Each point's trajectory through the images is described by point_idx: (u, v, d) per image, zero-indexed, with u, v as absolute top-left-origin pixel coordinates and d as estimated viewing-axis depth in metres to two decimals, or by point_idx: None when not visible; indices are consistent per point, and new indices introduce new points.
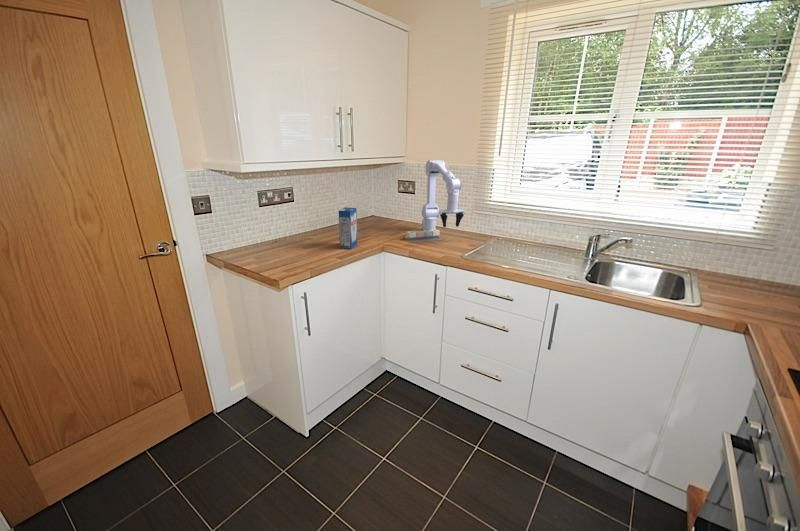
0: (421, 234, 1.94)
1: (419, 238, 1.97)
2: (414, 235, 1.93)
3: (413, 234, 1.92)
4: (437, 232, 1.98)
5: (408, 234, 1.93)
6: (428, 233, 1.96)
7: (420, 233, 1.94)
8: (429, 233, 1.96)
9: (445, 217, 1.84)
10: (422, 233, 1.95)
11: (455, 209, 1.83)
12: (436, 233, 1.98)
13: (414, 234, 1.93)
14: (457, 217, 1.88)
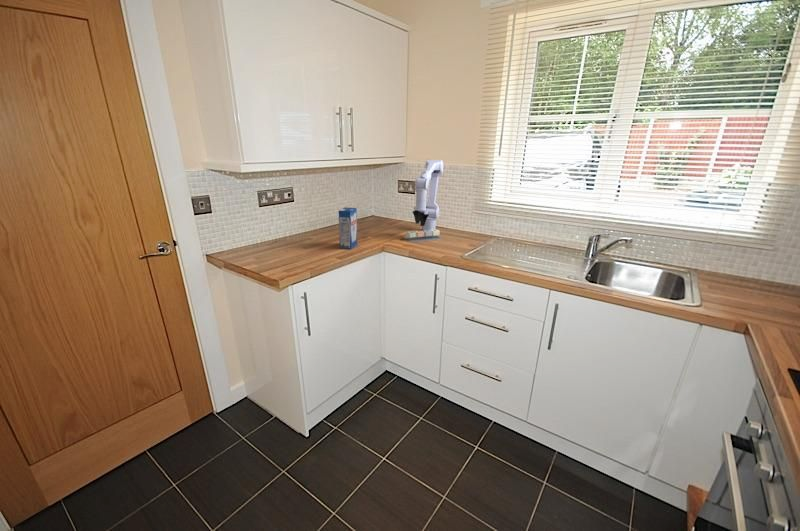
0: (421, 234, 1.94)
1: (419, 238, 1.97)
2: (414, 235, 1.93)
3: (413, 234, 1.92)
4: (437, 232, 1.98)
5: (408, 234, 1.93)
6: (428, 233, 1.96)
7: (420, 233, 1.94)
8: (429, 233, 1.96)
9: (413, 213, 1.95)
10: (422, 233, 1.95)
11: (416, 207, 1.89)
12: (436, 233, 1.98)
13: (414, 234, 1.93)
14: None
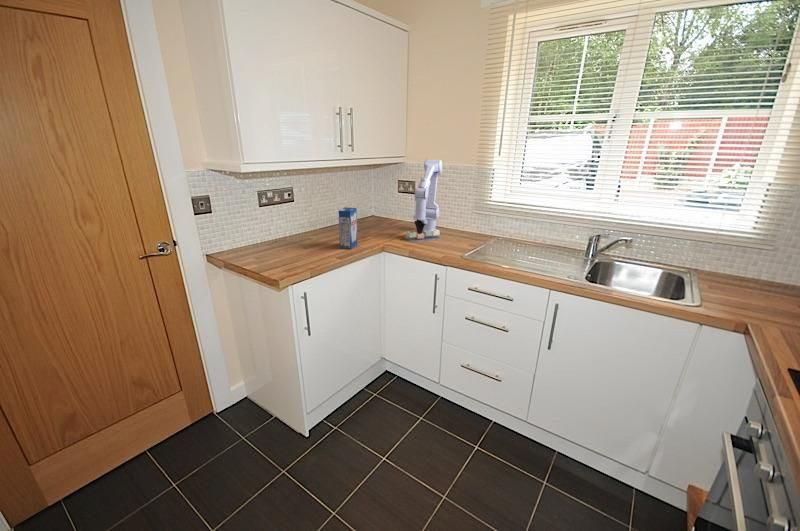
0: (421, 235, 1.95)
1: None
2: (414, 235, 1.93)
3: (413, 234, 1.92)
4: (437, 232, 1.98)
5: (408, 234, 1.93)
6: (428, 233, 1.96)
7: (420, 235, 1.94)
8: (429, 233, 1.96)
9: (415, 223, 1.94)
10: (422, 235, 1.95)
11: (416, 216, 1.91)
12: (436, 233, 1.98)
13: (414, 234, 1.93)
14: None
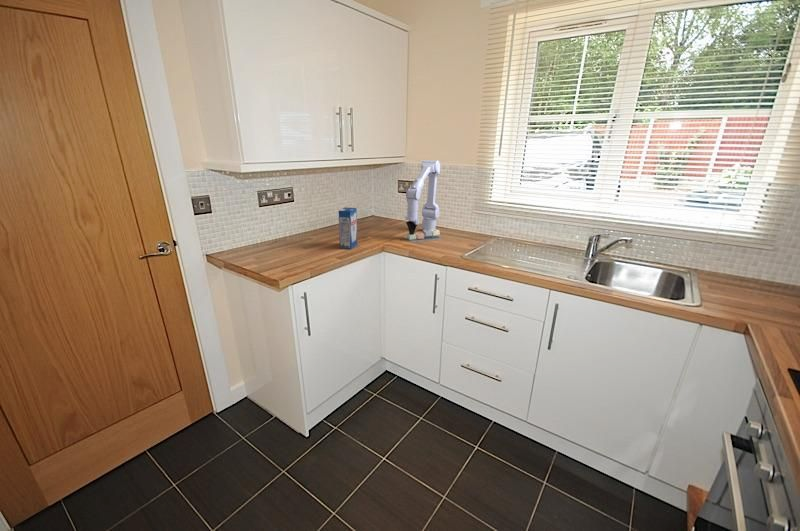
0: (421, 236, 1.95)
1: None
2: (414, 237, 1.93)
3: (413, 236, 1.93)
4: (437, 232, 1.98)
5: (408, 236, 1.94)
6: (428, 233, 1.96)
7: (420, 235, 1.95)
8: (429, 233, 1.96)
9: (407, 224, 1.92)
10: (422, 235, 1.95)
11: (408, 217, 1.89)
12: (436, 233, 1.98)
13: (414, 236, 1.93)
14: None
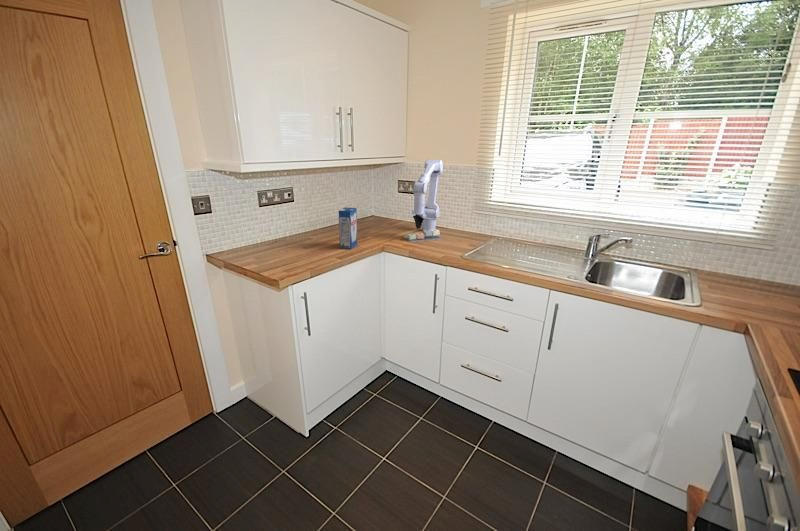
0: (421, 236, 1.95)
1: None
2: (414, 237, 1.93)
3: (413, 236, 1.93)
4: (437, 232, 1.98)
5: (408, 236, 1.94)
6: (428, 233, 1.96)
7: (420, 235, 1.95)
8: (429, 233, 1.96)
9: (414, 218, 1.93)
10: (422, 235, 1.95)
11: (415, 211, 1.90)
12: (436, 233, 1.98)
13: (414, 236, 1.93)
14: None
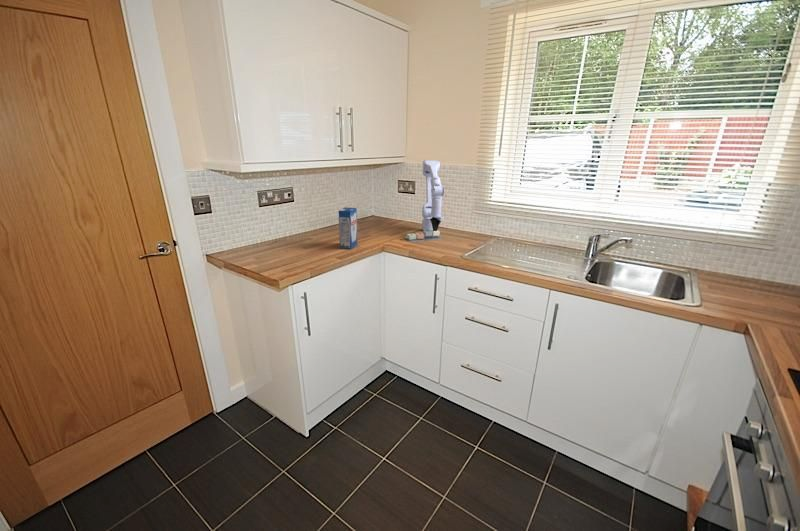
0: (421, 236, 1.95)
1: None
2: (414, 237, 1.93)
3: (413, 236, 1.93)
4: (437, 232, 1.98)
5: (408, 236, 1.94)
6: (428, 233, 1.96)
7: (420, 235, 1.95)
8: (429, 233, 1.96)
9: (431, 220, 1.98)
10: (422, 235, 1.95)
11: (432, 214, 1.95)
12: (436, 233, 1.98)
13: (414, 236, 1.93)
14: None
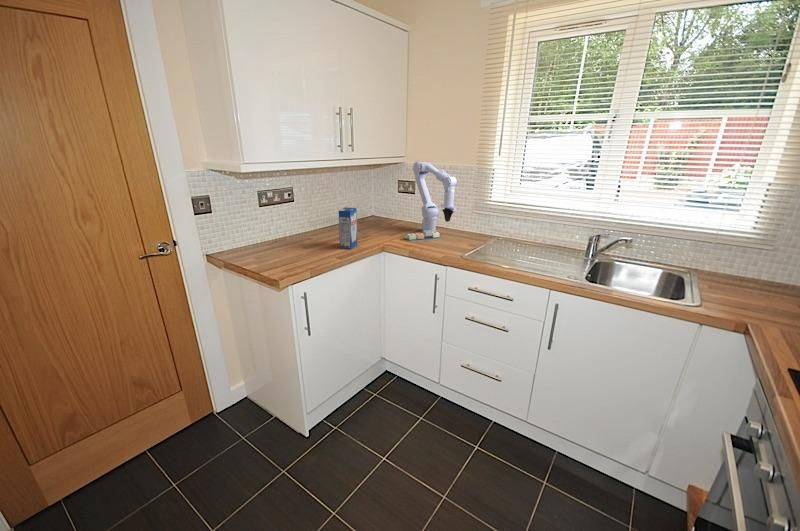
0: (421, 236, 1.95)
1: None
2: (414, 237, 1.93)
3: (413, 236, 1.93)
4: (437, 234, 1.99)
5: (408, 236, 1.94)
6: (428, 233, 1.96)
7: (420, 235, 1.95)
8: (429, 233, 1.96)
9: (443, 211, 2.00)
10: (422, 235, 1.95)
11: (445, 204, 1.97)
12: (436, 235, 1.99)
13: (414, 236, 1.93)
14: None
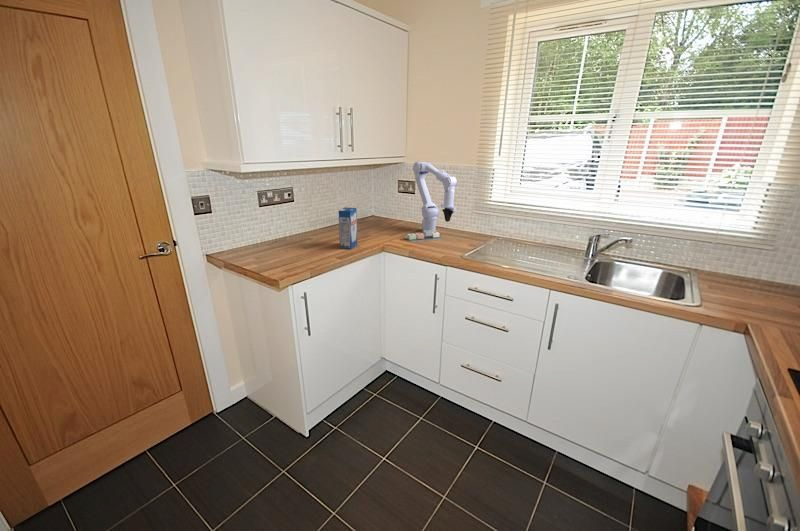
0: (421, 236, 1.95)
1: None
2: (414, 237, 1.93)
3: (413, 236, 1.93)
4: (437, 234, 1.99)
5: (408, 236, 1.94)
6: (428, 233, 1.96)
7: (420, 235, 1.95)
8: (429, 233, 1.96)
9: (443, 211, 2.00)
10: (422, 235, 1.95)
11: (445, 204, 1.97)
12: (436, 235, 1.99)
13: (414, 236, 1.93)
14: None
